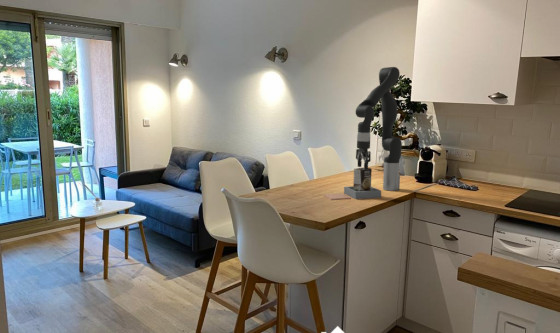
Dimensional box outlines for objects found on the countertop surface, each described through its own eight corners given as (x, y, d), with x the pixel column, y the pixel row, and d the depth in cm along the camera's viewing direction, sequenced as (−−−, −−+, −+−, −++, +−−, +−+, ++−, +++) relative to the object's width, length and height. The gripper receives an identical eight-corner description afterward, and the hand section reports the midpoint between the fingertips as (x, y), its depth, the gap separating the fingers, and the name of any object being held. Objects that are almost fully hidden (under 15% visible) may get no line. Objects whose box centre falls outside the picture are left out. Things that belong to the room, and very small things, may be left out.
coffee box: (361, 197, 240) (362, 169, 237) (352, 195, 245) (353, 168, 242) (371, 195, 246) (372, 168, 243) (362, 193, 251) (363, 167, 248)
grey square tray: (368, 191, 255) (368, 185, 254) (380, 197, 240) (381, 190, 239) (344, 193, 251) (344, 186, 250) (355, 199, 236) (355, 192, 235)
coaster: (342, 194, 248) (342, 193, 248) (350, 198, 237) (350, 197, 237) (323, 195, 245) (323, 194, 245) (331, 199, 234) (331, 198, 234)
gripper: (375, 141, 235) (374, 169, 237) (364, 139, 248) (363, 166, 251) (363, 141, 233) (362, 169, 235) (352, 139, 246) (351, 166, 249)
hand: (362, 167), depth 243 cm, fingers open, 8 cm apart
